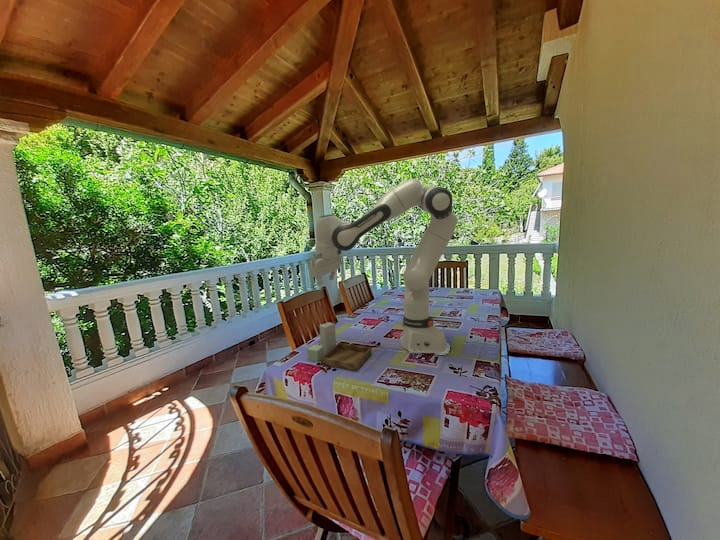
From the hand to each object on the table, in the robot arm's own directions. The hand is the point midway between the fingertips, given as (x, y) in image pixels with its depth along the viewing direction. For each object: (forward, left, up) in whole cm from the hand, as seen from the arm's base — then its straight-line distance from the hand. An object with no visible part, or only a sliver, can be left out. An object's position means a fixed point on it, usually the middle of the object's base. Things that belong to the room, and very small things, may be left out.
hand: (325, 282), depth 129 cm
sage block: (0, +11, -31) cm, 33 cm away
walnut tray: (-13, +7, -31) cm, 35 cm away
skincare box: (-1, +2, -31) cm, 31 cm away
